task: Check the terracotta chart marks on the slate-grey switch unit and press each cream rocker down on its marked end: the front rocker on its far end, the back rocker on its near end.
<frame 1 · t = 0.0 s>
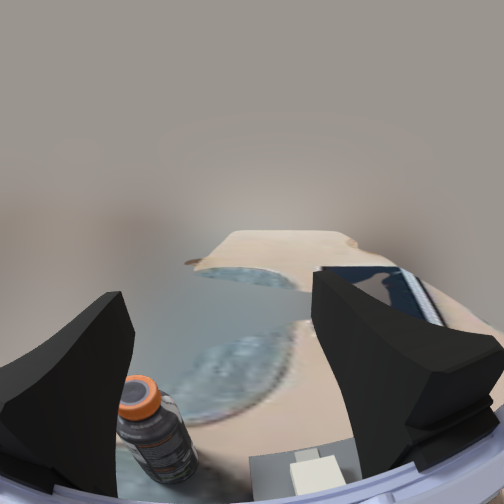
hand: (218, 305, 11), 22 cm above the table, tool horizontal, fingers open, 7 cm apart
pill bottle: (170, 462, 24), on the table
switch base: (371, 502, 17), on the table
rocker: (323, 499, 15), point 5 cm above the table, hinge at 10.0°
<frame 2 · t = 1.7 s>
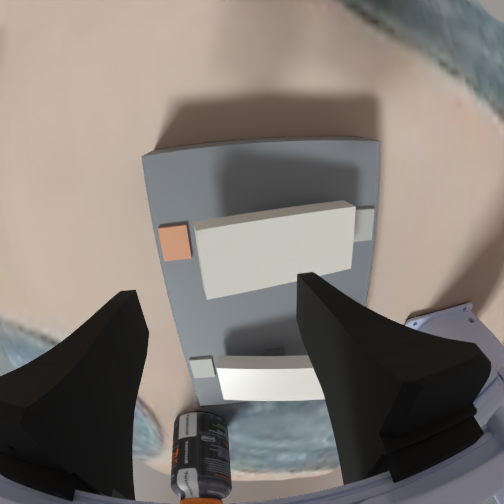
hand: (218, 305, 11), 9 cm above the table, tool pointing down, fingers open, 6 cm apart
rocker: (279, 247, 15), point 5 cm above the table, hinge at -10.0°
pill bottle: (200, 422, 29), on the table
switch base: (267, 281, 22), on the table
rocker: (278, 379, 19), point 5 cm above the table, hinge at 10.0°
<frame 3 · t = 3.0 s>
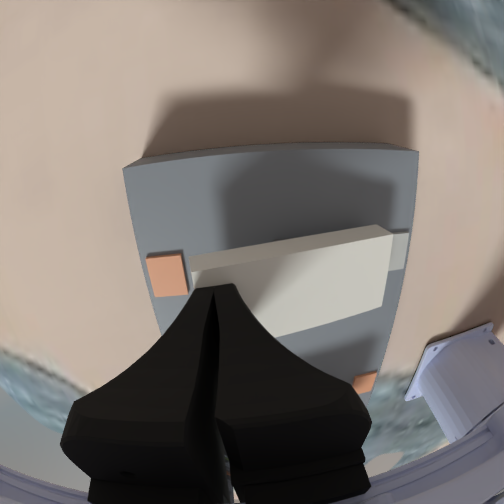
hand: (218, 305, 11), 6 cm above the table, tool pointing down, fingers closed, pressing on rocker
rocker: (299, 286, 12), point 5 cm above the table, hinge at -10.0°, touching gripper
switch base: (278, 312, 18), on the table
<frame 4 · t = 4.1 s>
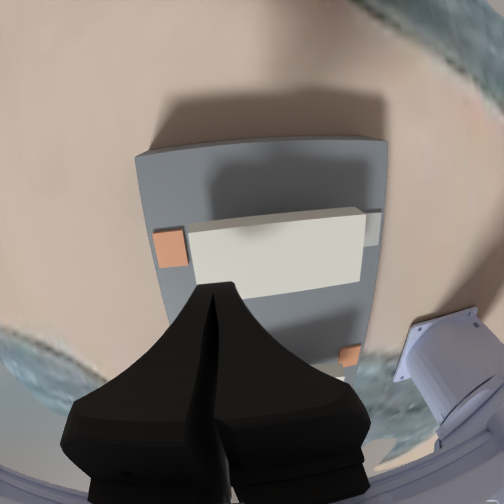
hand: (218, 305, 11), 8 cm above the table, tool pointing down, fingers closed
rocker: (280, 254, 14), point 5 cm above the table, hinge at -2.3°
switch base: (268, 287, 21), on the table
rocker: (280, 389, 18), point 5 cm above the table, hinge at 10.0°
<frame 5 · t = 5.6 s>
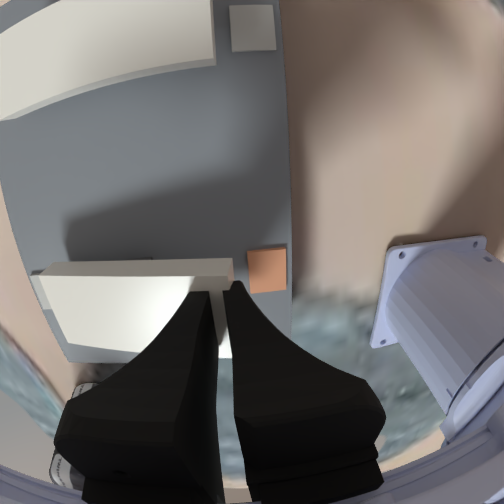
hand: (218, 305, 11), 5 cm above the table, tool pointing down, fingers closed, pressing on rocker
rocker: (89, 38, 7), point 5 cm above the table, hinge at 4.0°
pill bottle: (106, 401, 21), on the table
switch base: (139, 159, 13), on the table
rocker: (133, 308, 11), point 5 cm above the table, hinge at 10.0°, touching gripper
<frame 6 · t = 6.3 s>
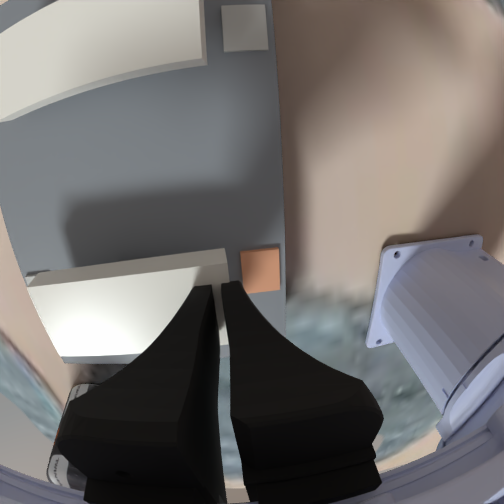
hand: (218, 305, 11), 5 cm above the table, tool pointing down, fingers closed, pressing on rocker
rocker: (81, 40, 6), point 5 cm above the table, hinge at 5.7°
pill bottle: (103, 401, 21), on the table
switch base: (133, 160, 13), on the table
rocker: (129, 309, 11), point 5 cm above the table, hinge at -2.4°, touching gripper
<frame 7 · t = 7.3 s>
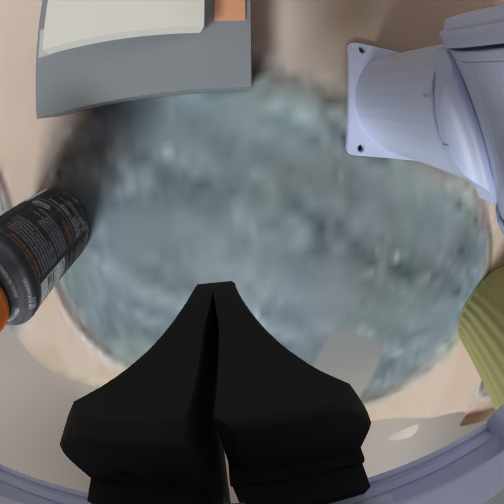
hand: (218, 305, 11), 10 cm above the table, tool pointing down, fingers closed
pill bottle: (59, 223, 19), on the table
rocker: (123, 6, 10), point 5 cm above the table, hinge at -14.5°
potted cactus: (488, 304, 28), on the table
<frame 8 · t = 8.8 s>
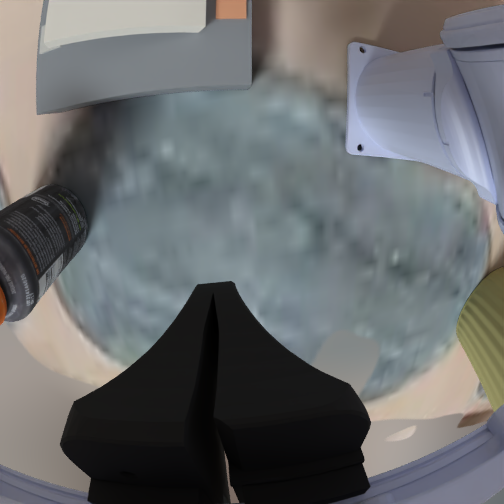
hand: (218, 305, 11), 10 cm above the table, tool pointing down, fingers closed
pill bottle: (58, 220, 19), on the table
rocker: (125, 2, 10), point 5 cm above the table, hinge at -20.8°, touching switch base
potted cactus: (486, 306, 28), on the table
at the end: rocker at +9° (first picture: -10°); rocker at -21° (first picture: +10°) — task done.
